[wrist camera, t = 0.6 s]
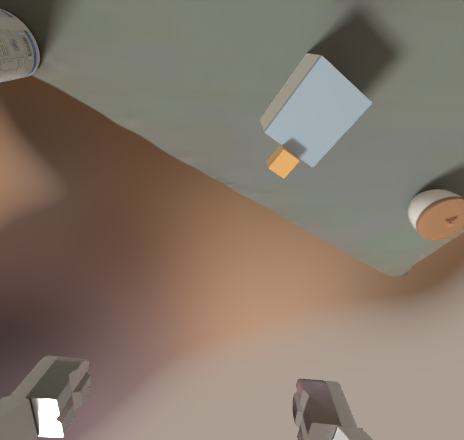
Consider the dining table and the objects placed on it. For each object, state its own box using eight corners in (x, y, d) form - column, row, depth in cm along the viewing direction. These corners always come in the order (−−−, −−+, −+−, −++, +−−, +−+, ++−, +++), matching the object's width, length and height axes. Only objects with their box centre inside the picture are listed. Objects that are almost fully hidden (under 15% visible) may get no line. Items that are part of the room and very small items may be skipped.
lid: (318, 54, 38) (326, 56, 35) (366, 100, 41) (378, 105, 38) (249, 148, 46) (250, 156, 43) (295, 179, 49) (299, 189, 46)
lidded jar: (392, 220, 64) (414, 245, 56) (409, 181, 57) (437, 202, 50) (435, 220, 64) (463, 245, 56) (457, 181, 57) (492, 203, 50)
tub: (306, 53, 44) (320, 55, 37) (350, 93, 47) (369, 101, 41) (259, 119, 50) (263, 130, 43) (301, 150, 53) (311, 165, 47)
